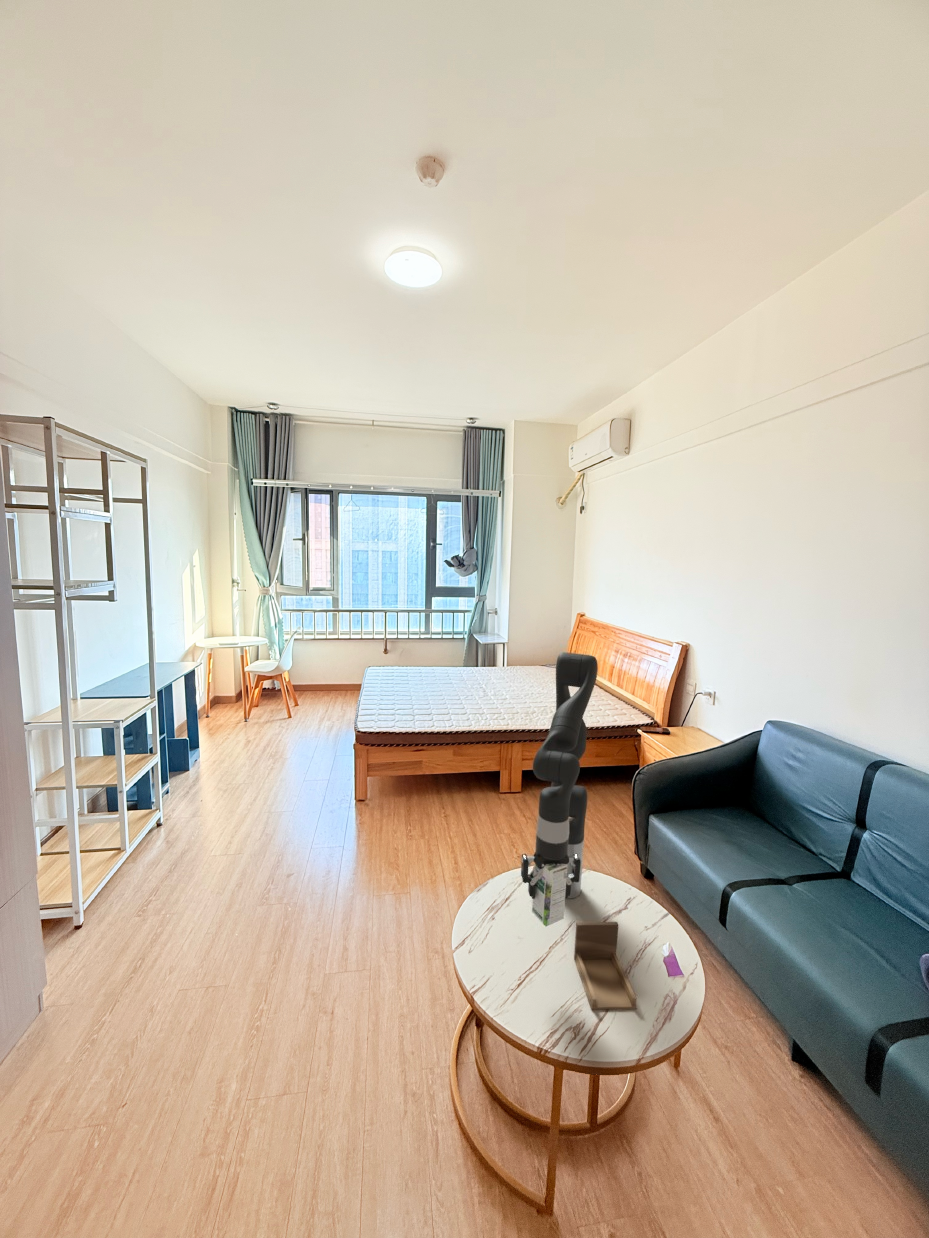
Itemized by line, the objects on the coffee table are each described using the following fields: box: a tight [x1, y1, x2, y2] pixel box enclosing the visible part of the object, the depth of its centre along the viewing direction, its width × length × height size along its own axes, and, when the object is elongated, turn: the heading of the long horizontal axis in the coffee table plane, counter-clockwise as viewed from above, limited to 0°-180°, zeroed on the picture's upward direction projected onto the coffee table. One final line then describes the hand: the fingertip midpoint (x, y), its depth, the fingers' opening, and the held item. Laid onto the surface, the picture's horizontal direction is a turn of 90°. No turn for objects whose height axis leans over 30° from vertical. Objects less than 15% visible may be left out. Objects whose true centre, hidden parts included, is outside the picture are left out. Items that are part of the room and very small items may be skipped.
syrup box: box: [531, 863, 567, 927], centre depth 117 cm, size 6×6×14 cm
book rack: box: [573, 921, 637, 1011], centre depth 116 cm, size 14×10×10 cm
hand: (548, 896), depth 117 cm, fingers closed on syrup box, 7 cm apart
